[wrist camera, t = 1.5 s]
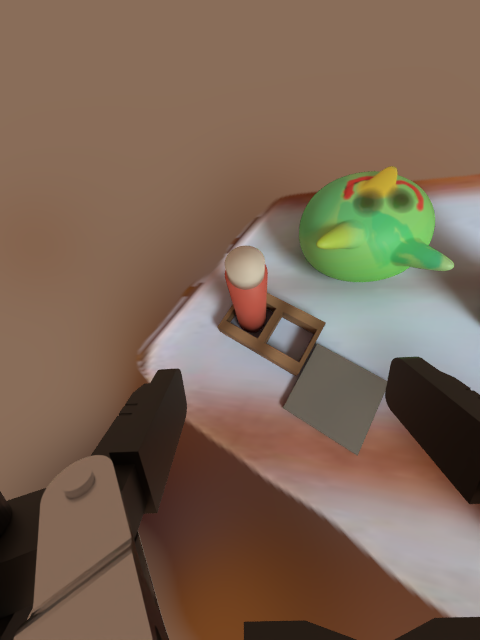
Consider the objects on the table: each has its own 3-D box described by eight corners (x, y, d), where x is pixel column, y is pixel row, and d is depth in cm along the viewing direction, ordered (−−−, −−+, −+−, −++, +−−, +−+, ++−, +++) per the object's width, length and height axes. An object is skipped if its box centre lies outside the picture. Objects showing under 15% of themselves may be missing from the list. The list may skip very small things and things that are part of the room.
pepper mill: (247, 302, 40) (237, 236, 24) (270, 315, 39) (276, 254, 23) (233, 324, 39) (213, 270, 23) (256, 337, 38) (252, 290, 22)
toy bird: (396, 224, 43) (460, 139, 29) (403, 308, 37) (486, 254, 23) (296, 219, 45) (312, 139, 31) (289, 298, 40) (304, 242, 26)
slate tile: (316, 344, 36) (317, 343, 36) (386, 382, 34) (388, 382, 33) (282, 407, 34) (283, 407, 33) (355, 454, 31) (357, 455, 30)
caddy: (220, 331, 39) (217, 327, 36) (248, 289, 41) (247, 282, 38) (295, 376, 35) (298, 374, 33) (321, 327, 37) (325, 322, 35)
